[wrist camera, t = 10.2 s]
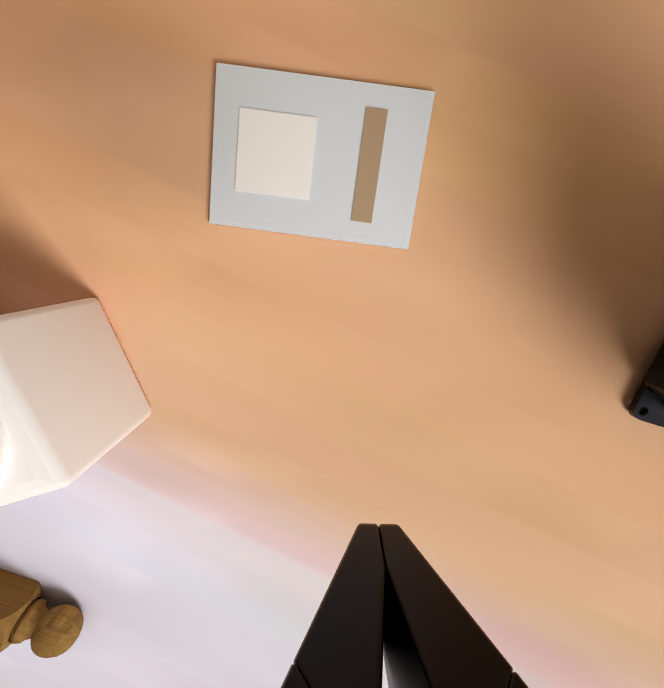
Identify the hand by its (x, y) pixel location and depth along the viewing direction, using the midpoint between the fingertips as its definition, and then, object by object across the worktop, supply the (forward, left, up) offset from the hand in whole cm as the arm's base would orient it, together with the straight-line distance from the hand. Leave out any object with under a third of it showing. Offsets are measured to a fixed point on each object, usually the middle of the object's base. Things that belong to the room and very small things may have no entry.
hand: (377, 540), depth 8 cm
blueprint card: (+5, -9, -13) cm, 17 cm away
